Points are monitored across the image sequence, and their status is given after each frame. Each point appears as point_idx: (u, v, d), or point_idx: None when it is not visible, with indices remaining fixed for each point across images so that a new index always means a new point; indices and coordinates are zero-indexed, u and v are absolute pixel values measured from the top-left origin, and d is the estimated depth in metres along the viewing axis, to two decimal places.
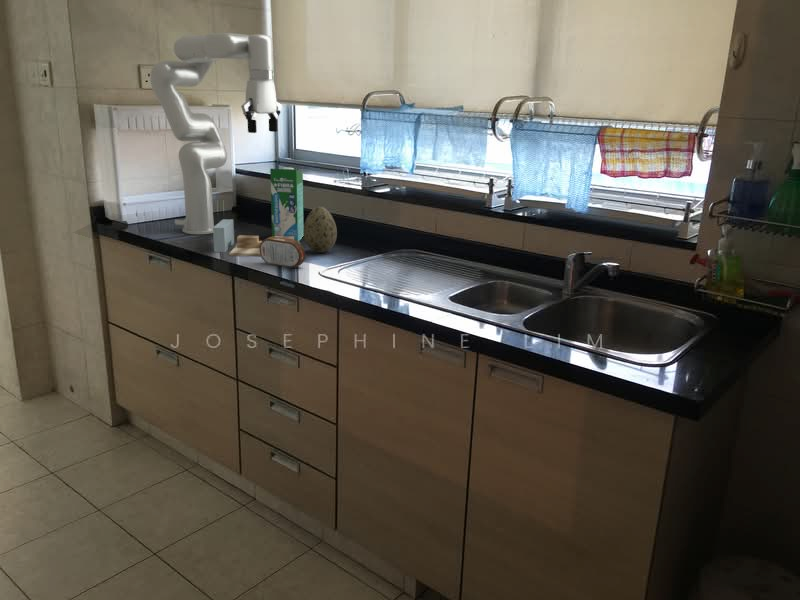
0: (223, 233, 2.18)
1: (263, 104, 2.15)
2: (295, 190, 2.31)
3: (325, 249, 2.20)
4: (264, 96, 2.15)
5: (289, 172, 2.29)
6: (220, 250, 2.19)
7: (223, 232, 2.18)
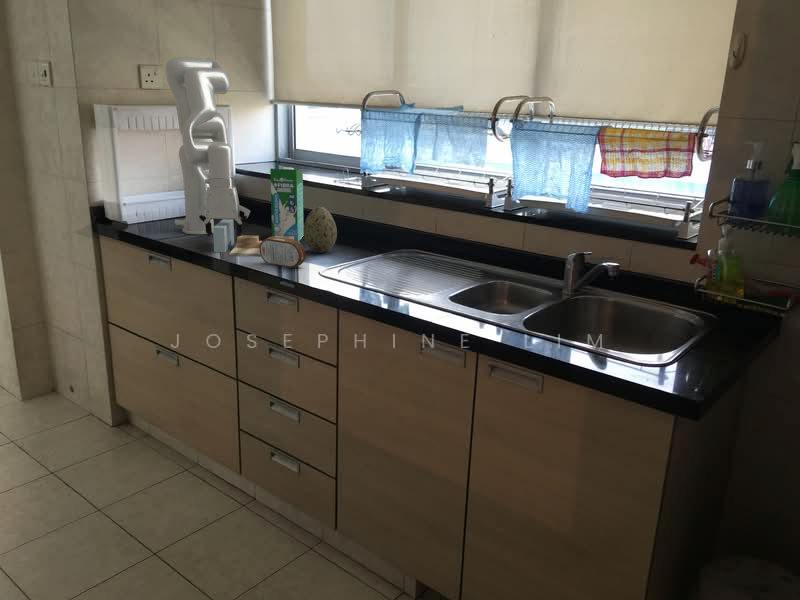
0: (223, 233, 2.18)
1: None
2: (295, 190, 2.31)
3: (325, 249, 2.20)
4: None
5: (289, 172, 2.29)
6: (220, 250, 2.19)
7: (223, 232, 2.18)
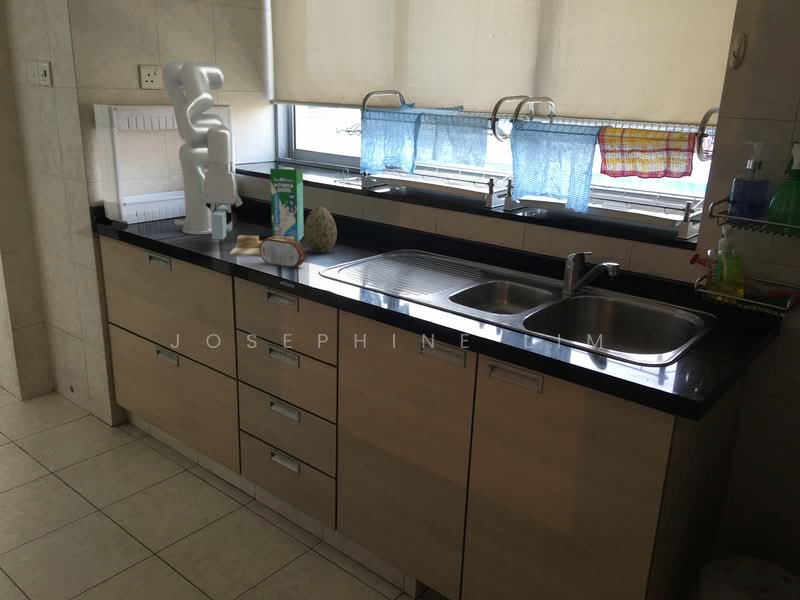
0: (221, 220, 2.18)
1: None
2: (295, 190, 2.31)
3: (325, 249, 2.20)
4: None
5: (289, 172, 2.29)
6: (218, 237, 2.20)
7: (221, 219, 2.18)
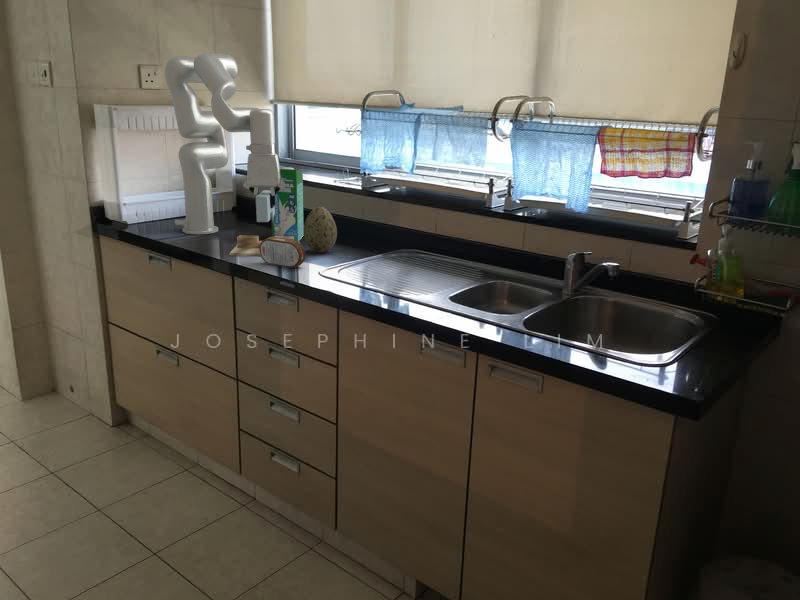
0: (266, 202, 2.13)
1: None
2: (295, 190, 2.31)
3: (325, 249, 2.20)
4: None
5: (289, 172, 2.29)
6: (263, 220, 2.14)
7: (266, 201, 2.13)
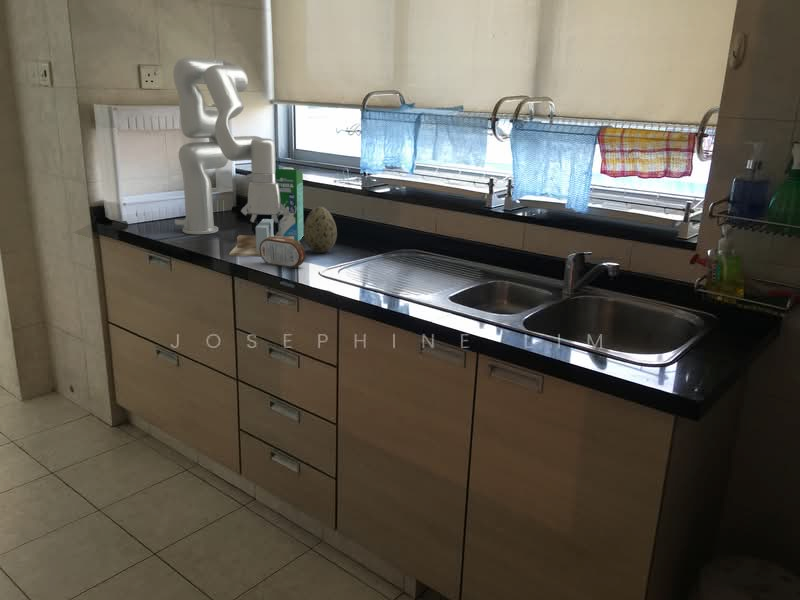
0: (265, 233, 2.16)
1: None
2: (295, 190, 2.31)
3: (325, 249, 2.20)
4: None
5: (289, 172, 2.29)
6: None
7: (265, 232, 2.16)
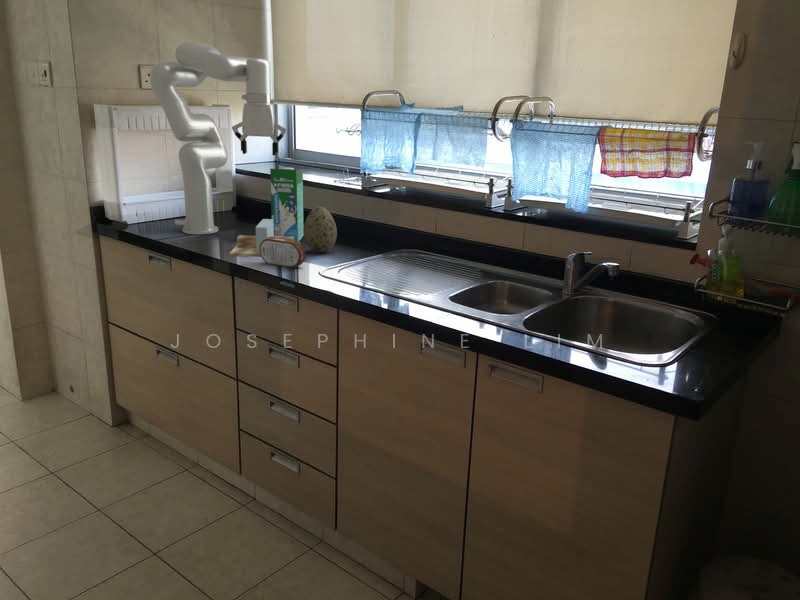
0: (265, 233, 2.16)
1: None
2: (295, 190, 2.31)
3: (325, 249, 2.20)
4: None
5: (289, 172, 2.29)
6: None
7: (265, 232, 2.16)
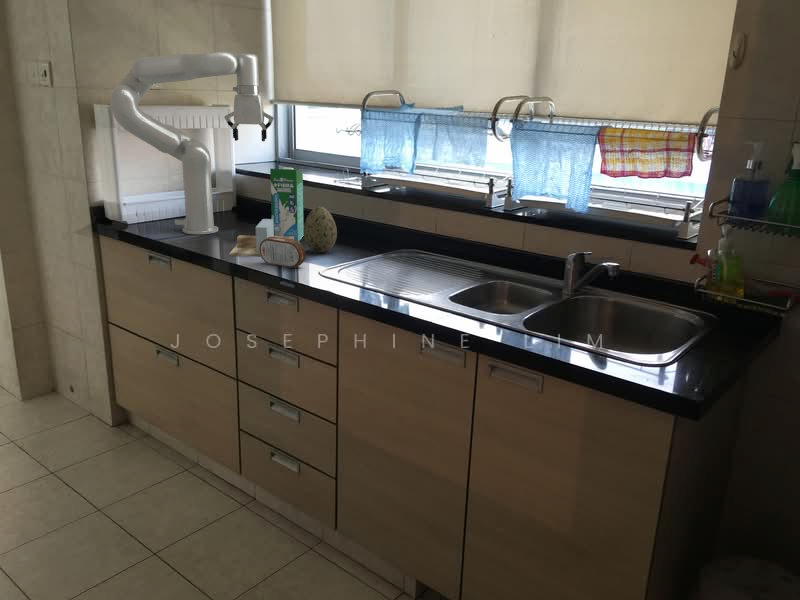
0: (265, 233, 2.16)
1: None
2: (295, 190, 2.31)
3: (325, 249, 2.20)
4: None
5: (289, 172, 2.29)
6: None
7: (265, 232, 2.16)
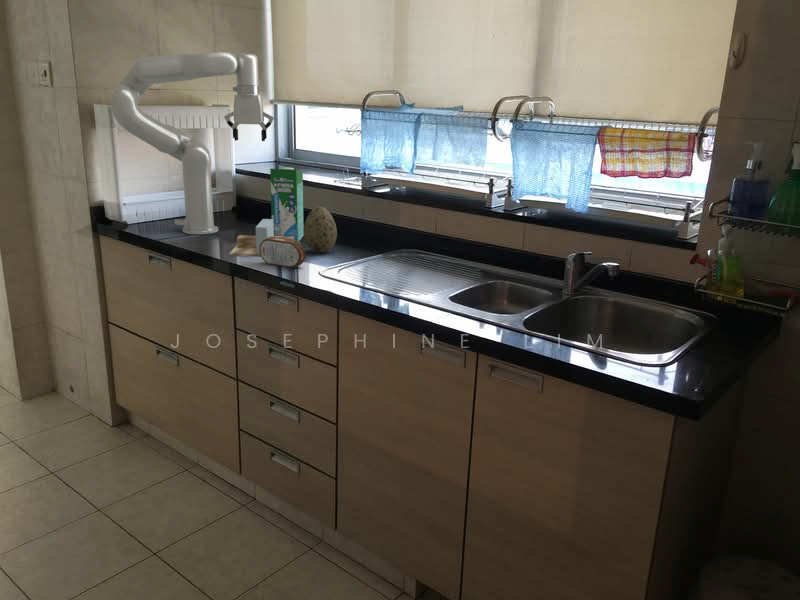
0: (265, 233, 2.16)
1: None
2: (295, 190, 2.31)
3: (325, 249, 2.20)
4: None
5: (289, 172, 2.29)
6: None
7: (265, 232, 2.16)
